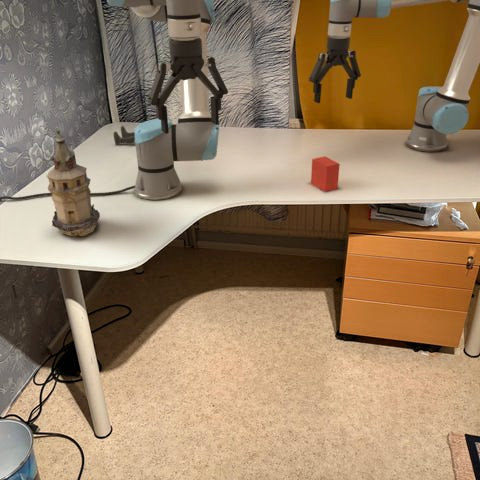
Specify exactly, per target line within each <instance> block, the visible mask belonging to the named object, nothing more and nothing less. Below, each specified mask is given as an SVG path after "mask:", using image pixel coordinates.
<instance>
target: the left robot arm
mask: <svg viewBox="0 0 480 480" xmlns="http://www.w3.org/2000/svg"><path fill="white" fill-rule="evenodd" d="M106 2H107V4H108V5H109V6H110V7H119V8H123V7H129V8H130V9H131V11H132V12H133V13H134V14H135V15H136V16H138V17H140V18H143V19H146V20H149V21H153V22H159V23H167V32H168V33H167V34H168V37H169V38H170V39H169V40H168V42H169V43H168V44H169V46H168V48H169V57H170V59H169V62H163V61H158V62H157V70H156V71H157V72H156V74H155V78H154V80H153V83H152V86H151V88H150V92H149V95H148V97H147V103H148V104H149V105H151V106H155V109H156V110H155V112H156V118H153V119H149V120H146V121H143V122H140V123H139V124H138V125H137V126H136V127H135V128H134V132H135V141H134V142H135V143H134V144H135V153H136V160H137V175H136V179H135V184H134V185H132V186H128V187H126V188H123V189H120V190H114V191H107V192H90V197H91V196H109V195H117V194H122V193H125V192H127V191H130V190H133V189H134V193H135V195H136V196H137V197H138V198H141V199H143V200H148V201H161V200H168V199H171V198H174V197H176V196H178V195H179V194H180V193H181V192H182V183H181V180H180V177H179V176H178V173H177V171H176V169H175V162H199V161H201V162H203V161H211V160H214V159H216V158H217V155H218V154H217V153H218V146H219V145H218V144H219V133H220V120H219V119H220V118H219V117H220V116H219V115H220V114H219V111H221V110H222V99H223V98H224V95H228V93H229V90H228V88H227V86H226V84H225V82H224V80H223V78H222V76H221V74H220V72H219V70H218V68H217V65H216V58H215V57H213V56H211V55H208V42H207V33H208V31H210V29H211V28H212V23H213V22H215V21H216V13H215V7H214V6H215V5H214V0H106ZM169 69H170V70H171V74H170V75H169V77H168V80H167V82H166V83H165V85H164V86H163V84H164V81H165V79H166V76H167V73H168V72H169ZM209 74H210V75H211V77H212V79H213V81H214V83H215V85H216V86H215V85H214V84H213V83H212V81H211V80H210V79H209ZM179 83H180V93H181V94H180V95H181V114H180V115H179V116H178V117H177V124H172V122H171V120H170V119H169V117H168V108H167V106H166V105H165V104H166V102H167V100H168V99H169V97H170V96H171V94H172V92H173V91H174V89H175V88H176V87H177V85H178V84H179ZM162 87H163V88H162ZM209 92H210V93H211V94H212V95H213V96H210V93H209ZM45 196H52V193H51V192H44V193H35V194H30V195H24V196H17V197H15V196H8V195H7V196H6V195H4V196H0V201H2V200H12V201H19V200H27V199H31V198H32V199H33V198H39V197H45ZM11 288H12V293H13V296H14V299H15V300H17V299H18V296H17V290H16V287H15V284H11Z"/></svg>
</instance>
